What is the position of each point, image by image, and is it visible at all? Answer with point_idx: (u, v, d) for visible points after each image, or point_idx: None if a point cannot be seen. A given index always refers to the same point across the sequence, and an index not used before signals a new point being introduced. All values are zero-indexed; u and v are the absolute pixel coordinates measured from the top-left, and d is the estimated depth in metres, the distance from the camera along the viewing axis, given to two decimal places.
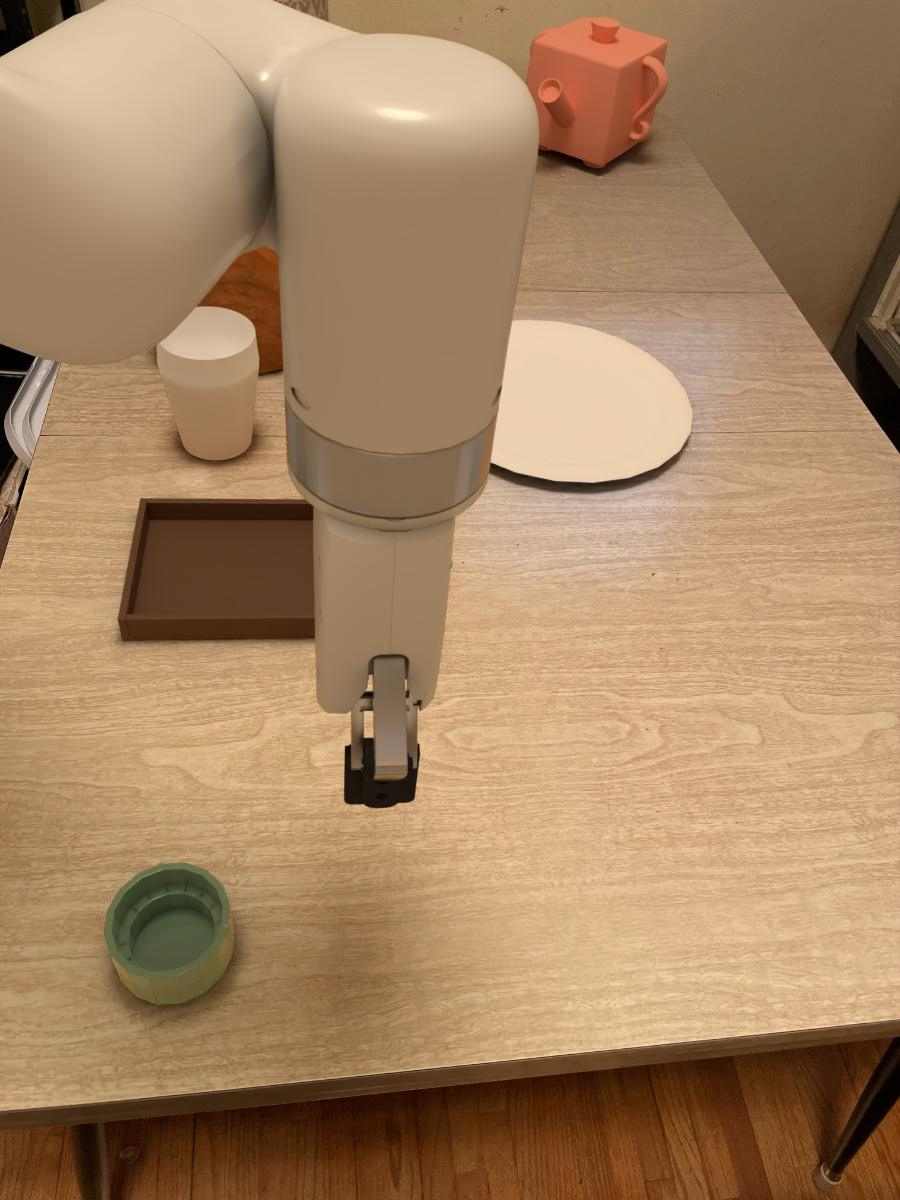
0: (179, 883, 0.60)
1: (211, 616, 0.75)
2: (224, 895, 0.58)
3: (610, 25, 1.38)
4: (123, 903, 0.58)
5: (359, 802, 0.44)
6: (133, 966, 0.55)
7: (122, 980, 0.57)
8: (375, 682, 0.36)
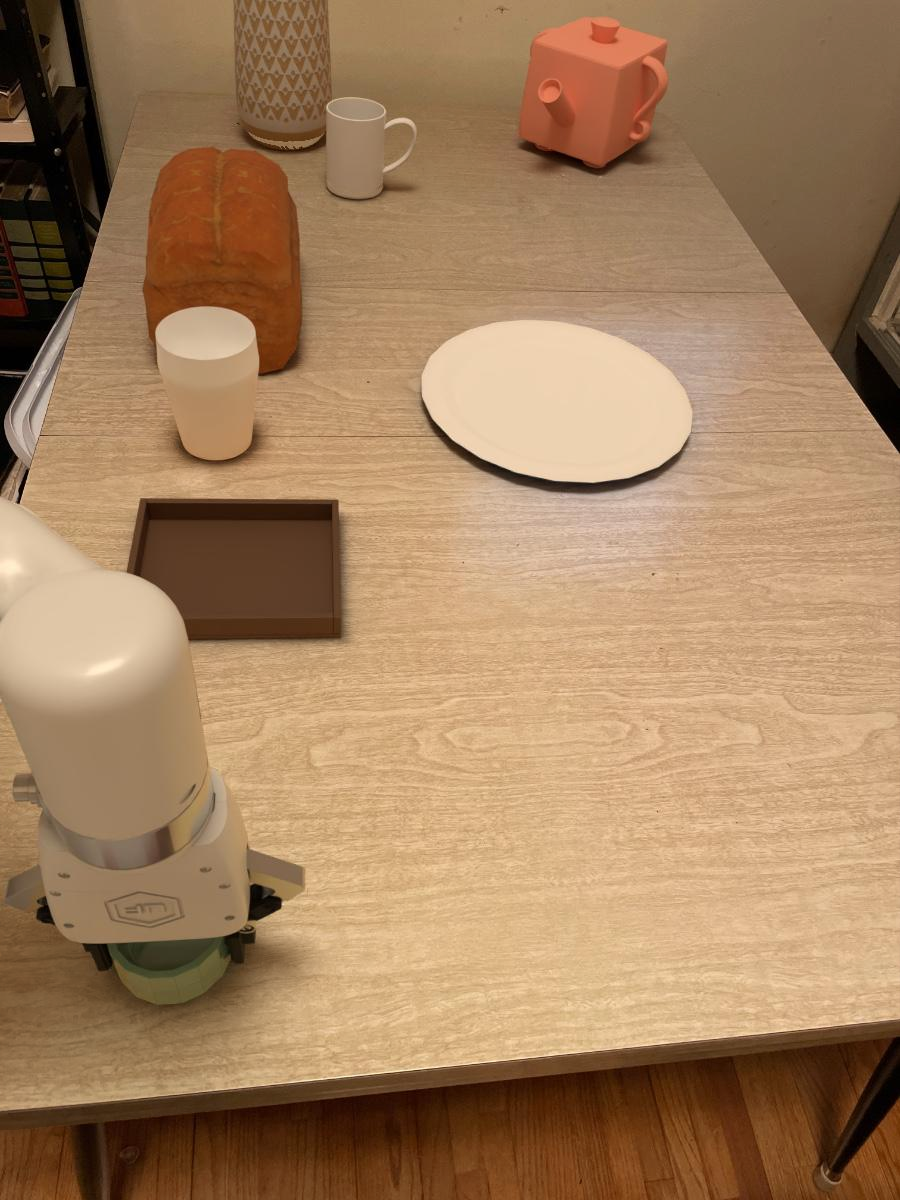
0: None
1: (211, 616, 0.75)
2: None
3: (610, 25, 1.38)
4: None
5: None
6: (133, 966, 0.55)
7: (122, 980, 0.57)
8: (258, 871, 0.52)
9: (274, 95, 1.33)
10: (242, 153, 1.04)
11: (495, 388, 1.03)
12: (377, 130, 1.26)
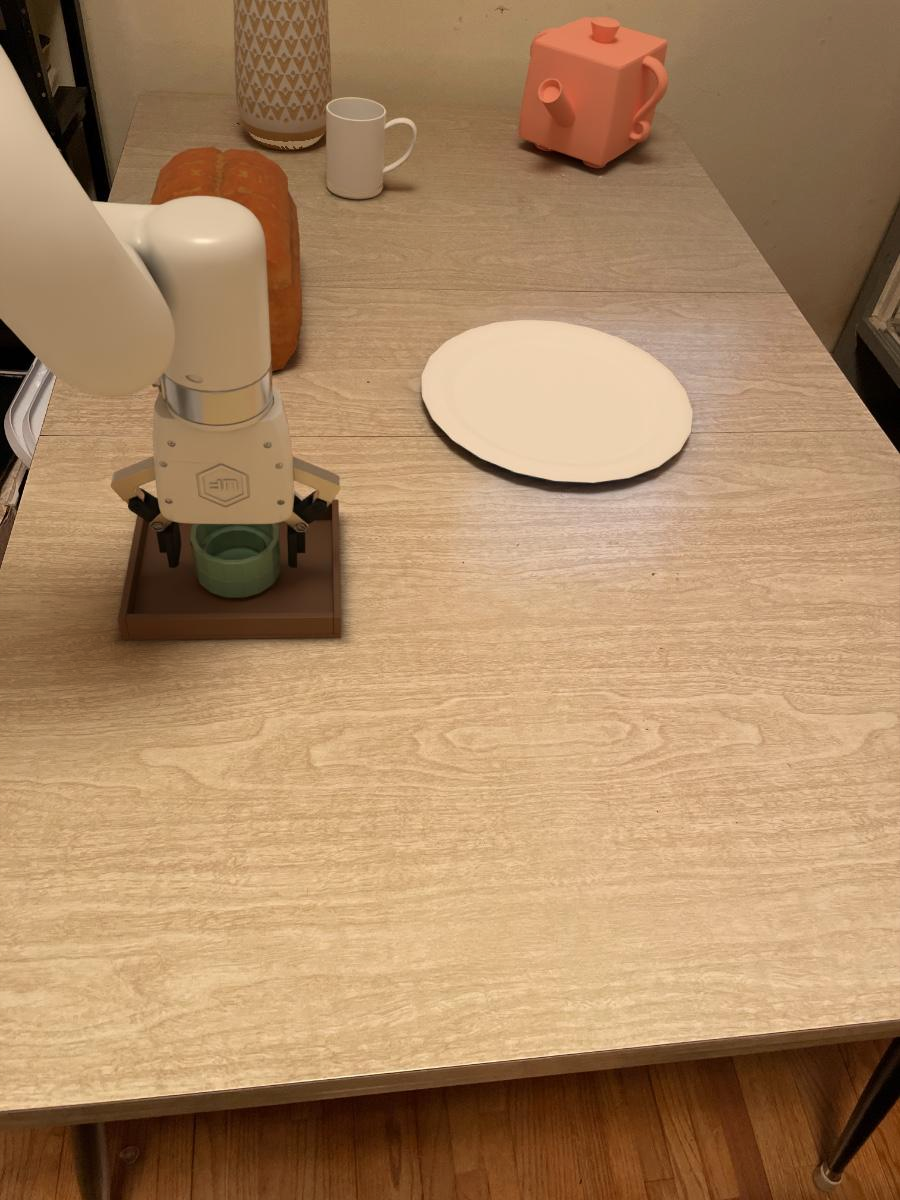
0: (240, 524, 0.82)
1: (211, 616, 0.75)
2: None
3: (610, 25, 1.38)
4: (201, 527, 0.79)
5: None
6: (212, 556, 0.76)
7: (201, 580, 0.79)
8: (302, 470, 0.74)
9: (274, 95, 1.33)
10: (242, 153, 1.04)
11: (495, 388, 1.03)
12: (377, 130, 1.26)
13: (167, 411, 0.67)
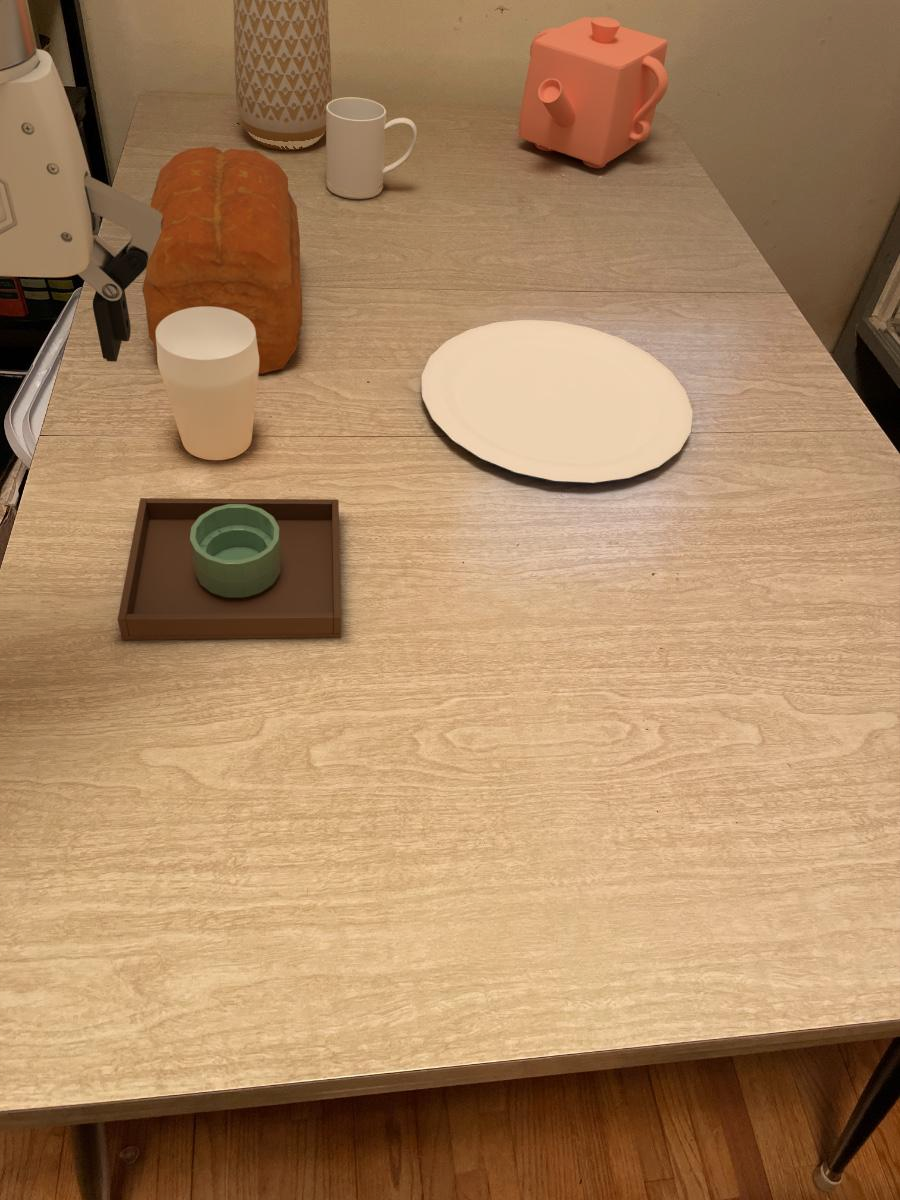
0: (240, 524, 0.82)
1: (211, 616, 0.75)
2: (275, 522, 0.80)
3: (610, 25, 1.38)
4: (201, 527, 0.79)
5: (117, 354, 0.57)
6: (212, 556, 0.76)
7: (201, 580, 0.79)
8: (100, 193, 0.51)
9: (274, 95, 1.33)
10: (242, 153, 1.04)
11: (495, 388, 1.03)
12: (377, 130, 1.26)
13: None
